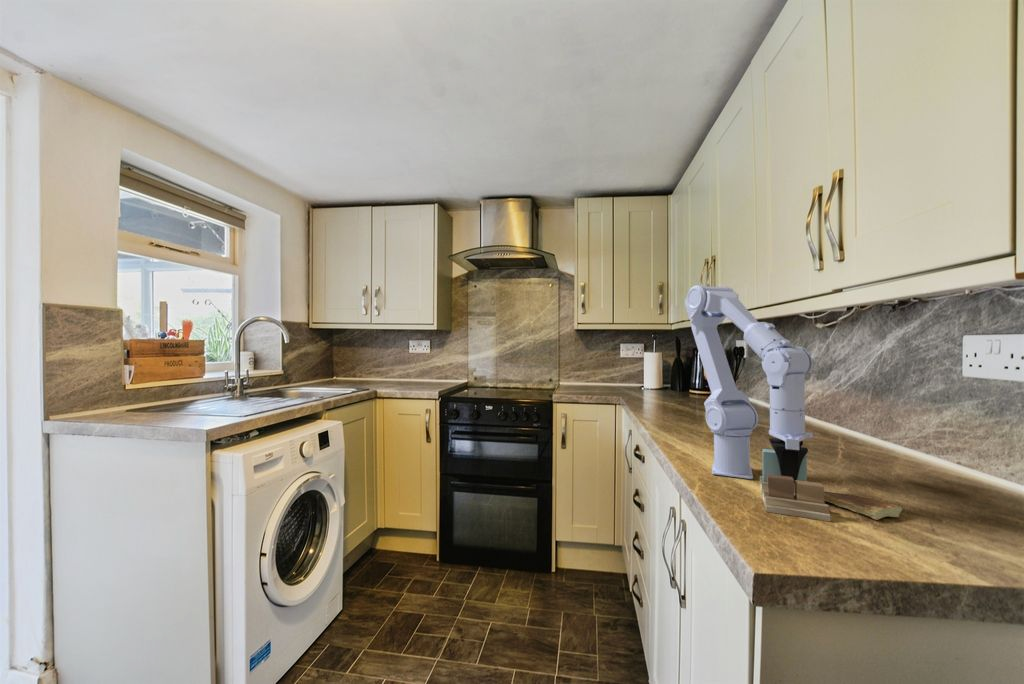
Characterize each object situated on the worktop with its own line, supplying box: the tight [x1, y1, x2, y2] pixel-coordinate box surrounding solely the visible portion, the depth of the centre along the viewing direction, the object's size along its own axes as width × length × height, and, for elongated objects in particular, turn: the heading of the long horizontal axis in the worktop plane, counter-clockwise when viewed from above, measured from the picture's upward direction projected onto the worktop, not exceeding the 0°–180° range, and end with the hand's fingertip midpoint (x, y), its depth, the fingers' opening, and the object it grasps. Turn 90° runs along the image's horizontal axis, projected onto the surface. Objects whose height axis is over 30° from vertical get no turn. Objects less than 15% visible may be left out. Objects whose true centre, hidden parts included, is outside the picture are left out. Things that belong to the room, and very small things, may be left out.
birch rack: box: [759, 475, 831, 523], centre depth 76 cm, size 15×9×2 cm, turn 153°
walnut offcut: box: [767, 474, 794, 500], centre depth 73 cm, size 2×4×4 cm, turn 63°
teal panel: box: [761, 448, 808, 486], centre depth 81 cm, size 2×7×7 cm, turn 62°
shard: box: [824, 491, 903, 521], centre depth 74 cm, size 11×8×2 cm
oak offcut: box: [795, 480, 825, 504], centre depth 71 cm, size 2×4×4 cm, turn 63°
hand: (787, 479), depth 80 cm, fingers open, 4 cm apart
